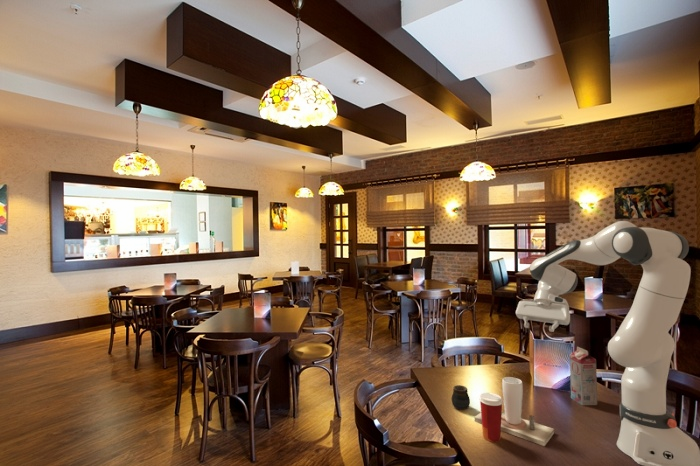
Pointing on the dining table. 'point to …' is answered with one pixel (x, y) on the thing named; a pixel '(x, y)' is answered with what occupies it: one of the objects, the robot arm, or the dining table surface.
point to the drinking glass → (512, 399)
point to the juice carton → (583, 377)
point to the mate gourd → (460, 397)
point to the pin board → (525, 429)
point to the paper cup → (491, 416)
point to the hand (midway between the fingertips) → (538, 328)
